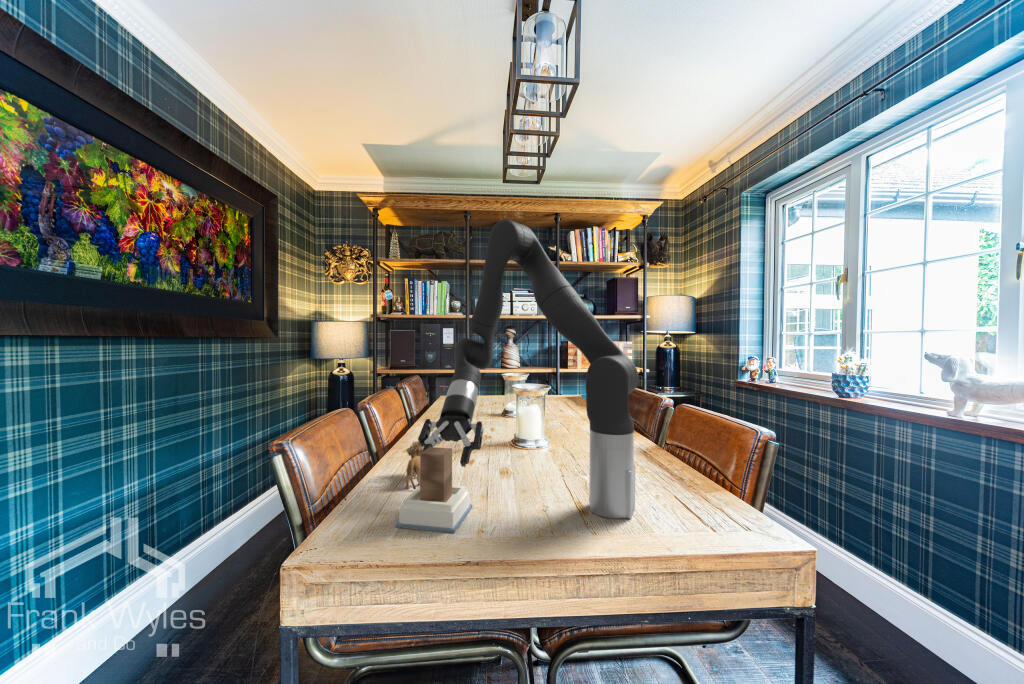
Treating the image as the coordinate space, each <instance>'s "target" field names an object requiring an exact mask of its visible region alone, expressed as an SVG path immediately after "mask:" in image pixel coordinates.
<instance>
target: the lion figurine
mask: <svg viewBox="0 0 1024 684" xmlns="http://www.w3.org/2000/svg"><path fill="white" fill-rule="evenodd" d="M423 448H424V447H422V446H421V444H420V443H419V441H418V440H415V441H412V443H411V445H410V447H408V448H407V449H406V453H407V454H408V456H410V457H411V459H409V460H408V462H407V466H406V479H405V487H404V488H405V489H406V490H408V489H410V487H411V486H410V483H411V485H412V489H413V490H416V489H417V487H416V485H415V483H414V478H413V477H415V478H416V477H417V478H416V481H417V483H418V485H419V486H420V453H422V452H423Z"/></svg>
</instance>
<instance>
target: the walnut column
mask: <svg viewBox="0 0 1024 684" xmlns="http://www.w3.org/2000/svg"><path fill="white" fill-rule="evenodd" d="M452 486H453V448H451V447H436V446H434V447H429V448H428V449H426V450H425V451H423V452H422V453H420V485H419V487H420V500H422V501H434V502H447V501H448V500H449V498H450V497H451V496H452Z"/></svg>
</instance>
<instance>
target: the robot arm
mask: <svg viewBox="0 0 1024 684" xmlns="http://www.w3.org/2000/svg"><path fill="white" fill-rule="evenodd" d="M509 260H510V261H512V262H515V263H516V264H517V265H518V266H519V267H520V268H521V269H522V271H523V272H524V274H526V276H527V277H528V280H529V281H530V283H531V288H532V293H533V297H534V299H535V303H536V305H537V307H538V308H539V310H540V312H541V313H542V314H543V316H544V317H545V319H546V320H547V321H548V323H549V324H550V325H551V327H552V328H554V329H555V331H557V332H558V333H559V334H560V335H561V336H562V337H563V338H565V339H566V340H567V341H569V343H571V344H572V345H574V346H575V348H576V349H578V350H579V351H580V352H581V354H583V356H584V357H585V358H586V360H587V361H588V363H589V364H590V365H589V366H588V368H587V371H586V377H585V401H586V402H585V405H586V415H587V419H588V421H589V483H588V484H589V485H588V486H589V487H588V488H589V491H588V492H589V497H588V500H589V503H588V504H589V510H590V511H591V512H592V513H593V514H595V515H597V516H601V517H604V518H608V519H632V516H633V514H634V511H635V509H636V465H635V464H634V454H635V452H634V451H635V449H634V447H635V446H634V445H635V439H634V438H635V421H634V418H633V417H632V415H631V413H630V405H629V404H630V403H629V402H630V401H629V395H630V394H631V393H632V392H634V391H635V390H636V388H637V386H638V383H639V373H638V369H637V367H636V365H635V364H634V362H633V360H632V359H630V358H629V357H628V355H626V353H624V352H623V350H622V349H621V348H620V347H619V346H618V344H616V342H614V341H613V340H612V339H611V338H610V336H609V335H608V334H607V333H606V332H605V330H604V329H603V328H602V326H601V325H600V323H599V321H598V320H597V318H596V317H595V316H594V314H593V313H592V312H591V311H590V309H589V308H588V306H587V305H586V304H585V302H584V301H583V299H582V298H581V296H580V295H579V294H578V293H577V291H576V289H574V287H573V286H572V285H571V284H570V283H569V281H568V280H567V279H566V277H564V275H563V274H562V272H561V271H560V270H559V269H558V268H557V266H556V265H555V264H554V262H552V261H551V259H550V257H549V256H548V255H547V252H546V251H545V250H544V248H543V246H542V245H541V243H540V241H539V239H538V238H537V236H536V235H535V233H534V232H533V230H532V229H531V228H530V227H528V226H526V225H524V224H521V223H518V222H517V221H513V220H509V219H502V220H499V221H498V222H496V223H495V224H494V225H493V227H492V229H491V231H490V234H489V237H488V240H487V246H486V253H485V260H484V266H483V272H482V277H481V284H480V289H479V294H478V296H477V297H478V298H477V301H476V303H475V305H474V306H475V307H474V309H473V313H472V316H471V318H470V322H469V329H470V331H471V332H472V333H474V334H476V335H477V336H479V337H481V338H482V339H483V342H481V341H478V340H475V339H472V338H468V337H462V338H460V339H458V340H457V342H456V344H455V345H454V350H453V351H454V352H453V353H454V354H453V356H454V358H453V359H454V371H453V376H452V378H451V383H450V384H449V385H450V386H449V388H448V390H447V393H446V396H445V398H444V402H443V405H442V409H441V411H440V415H439V418H438V420H437V421H431V419H429V418H427V419H425V420H424V423H423V425H422V428H421V430H420V432H419V435H418V437H417V441H419V443H420V444H421V446H422V447H424V448H423V451H425V450H426V449H428V448H429V447H436V445H440V444H441V443H442V442H443V441H445V442H451V441H452V442H459V441H461V442H462V443H463V448H462V453H461V456H460V461H459V462H460V467H462V468H466V465H468V464H469V463H470V459H471V454H472V452H473V451H475V450H477V451H479V450H481V449H482V442H483V435H484V426H483V423H482V421H477V422H476V423H472V422H473V418H474V413H475V410H476V405H477V401H478V391H479V388H480V383H481V379H482V373H481V371H480V370H485V369H488V368H489V367H490V366H491V365H492V362H493V357H494V340H495V334H496V330H497V327H498V324H499V321H500V318H501V315H502V311H503V308H504V291H503V289H504V288H503V283H504V280H503V279H504V275H505V270H506V268H507V265H508V263H509ZM435 428H436V429H435ZM434 429H435V430H434ZM471 431H473V433H474V437H473V441H470V439H469V438H468V434H469V433H470V432H471Z"/></svg>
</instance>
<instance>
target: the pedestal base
mask: <svg viewBox="0 0 1024 684" xmlns="http://www.w3.org/2000/svg"><path fill="white" fill-rule="evenodd" d="M470 498H471V495H470V491H468V487H467V486H463V485H461V486H460V485H452V496H451V497H450V498H449V500H448V501H447V502H434V501H422V500H420V486H418V487H416V489H414V491H413V492H412V493H411V494H409V495H408V496H407V497H406V498H405V499H403V500H402V505H401V506H400V507H399V512H398V513H399V514H398V516H399V520H398V521H397V522H396V524H395V528H400V527H401V528H400V529H402V528H403V529H409V530H410V529H412V530H421V531H432V532H440V533H441V532H442V533H453V534H455V533H456V531H457V530H458V529H459V527H460V526H461V525H462V524H463V522H464V521H465V519H466V518H467V516H468V515H469V514H470V512H471V510H472V509H473V507H474V506H473V505H474V504H472V503H471V502H470V500H471V499H470ZM470 503H471V504H470Z"/></svg>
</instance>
